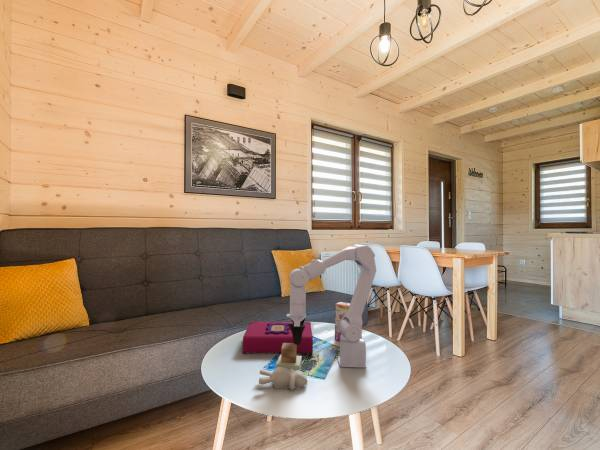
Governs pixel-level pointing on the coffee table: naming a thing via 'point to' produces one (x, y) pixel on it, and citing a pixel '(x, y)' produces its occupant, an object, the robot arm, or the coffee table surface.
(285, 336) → the book
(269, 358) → the coffee table surface
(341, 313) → the candy bar box
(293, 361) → the walnut cube
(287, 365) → the sage block
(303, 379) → the bunny figurine
